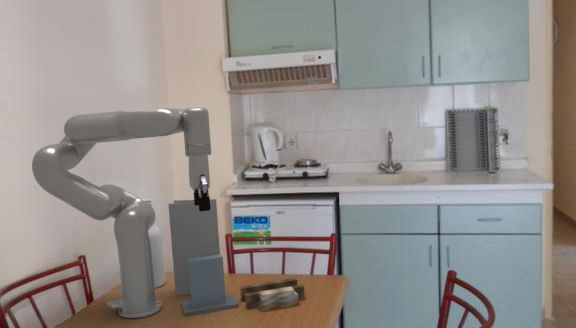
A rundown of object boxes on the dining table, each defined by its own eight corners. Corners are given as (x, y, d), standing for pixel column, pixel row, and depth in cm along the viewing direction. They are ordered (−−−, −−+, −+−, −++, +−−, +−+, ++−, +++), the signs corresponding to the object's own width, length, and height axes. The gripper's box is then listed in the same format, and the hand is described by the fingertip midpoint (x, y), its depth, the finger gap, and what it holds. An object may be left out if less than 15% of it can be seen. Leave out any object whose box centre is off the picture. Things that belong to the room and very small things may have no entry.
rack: (247, 309, 153) (246, 296, 153) (241, 299, 161) (240, 286, 161) (304, 298, 159) (304, 286, 158) (295, 289, 167) (295, 277, 166)
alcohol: (135, 289, 175) (127, 202, 172) (145, 280, 184) (138, 197, 180) (160, 289, 174) (152, 201, 171) (169, 280, 183) (162, 196, 179)
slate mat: (184, 316, 150) (184, 312, 150) (181, 305, 159) (181, 302, 159) (238, 306, 155) (238, 303, 155) (232, 296, 164) (232, 293, 164)
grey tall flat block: (222, 288, 172) (216, 199, 168) (218, 294, 167) (212, 202, 163) (180, 288, 173) (173, 200, 170) (175, 294, 168) (168, 203, 164)
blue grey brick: (192, 307, 154) (189, 261, 152) (191, 304, 157) (187, 259, 155) (225, 301, 157) (222, 256, 155) (223, 298, 160) (220, 254, 158)
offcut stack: (260, 311, 151) (259, 296, 150) (257, 307, 154) (256, 292, 153) (299, 304, 154) (298, 289, 154) (295, 300, 158) (294, 285, 157)
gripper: (181, 149, 159) (185, 204, 161) (188, 153, 142) (193, 214, 144) (206, 147, 161) (210, 201, 163) (216, 151, 145) (220, 211, 147)
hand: (202, 207), depth 154 cm, fingers open, 9 cm apart
